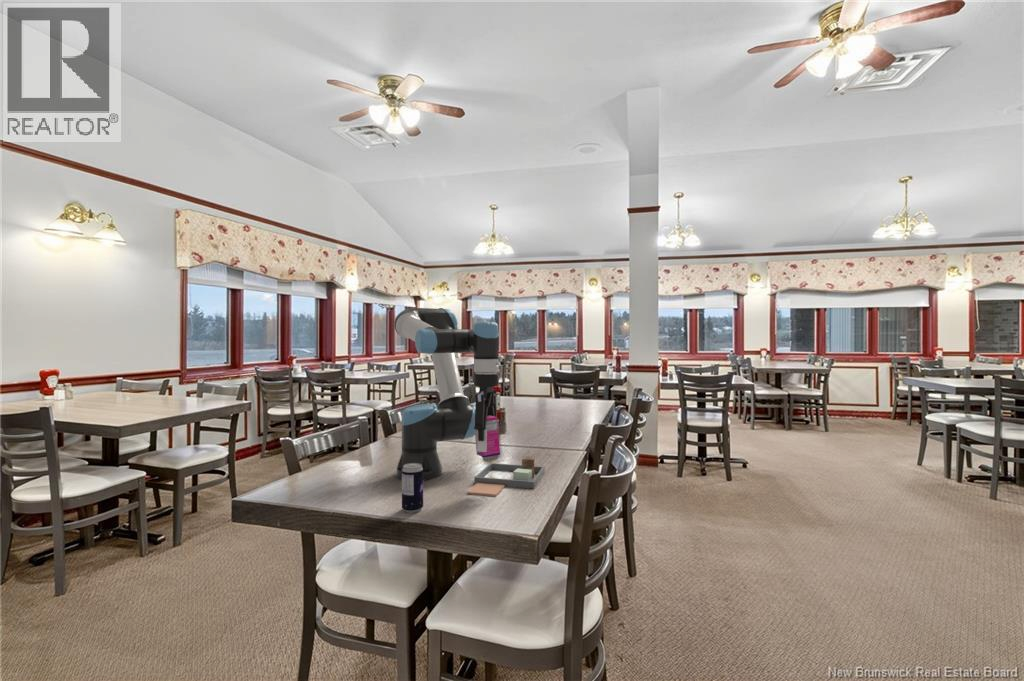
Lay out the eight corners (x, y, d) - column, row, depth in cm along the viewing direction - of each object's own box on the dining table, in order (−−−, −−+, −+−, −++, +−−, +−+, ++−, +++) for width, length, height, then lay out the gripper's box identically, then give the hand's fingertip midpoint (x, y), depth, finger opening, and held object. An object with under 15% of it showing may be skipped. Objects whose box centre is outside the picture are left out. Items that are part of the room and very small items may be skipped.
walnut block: (521, 477, 155) (521, 459, 155) (522, 473, 159) (522, 456, 159) (534, 477, 155) (534, 459, 155) (534, 474, 159) (534, 456, 159)
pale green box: (513, 484, 148) (513, 471, 148) (517, 480, 152) (517, 468, 152) (528, 485, 147) (528, 473, 147) (532, 482, 150) (532, 469, 150)
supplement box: (475, 454, 143) (473, 417, 143) (493, 452, 145) (491, 415, 146) (482, 458, 138) (479, 419, 138) (500, 455, 140) (498, 416, 140)
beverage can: (423, 512, 124) (423, 467, 124) (401, 514, 123) (401, 468, 123) (423, 505, 129) (423, 462, 129) (402, 506, 128) (402, 463, 128)
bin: (474, 483, 148) (474, 477, 148) (490, 468, 165) (490, 463, 165) (534, 488, 144) (534, 482, 144) (544, 472, 160) (544, 466, 160)
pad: (467, 493, 139) (467, 491, 139) (477, 484, 147) (477, 482, 147) (496, 496, 136) (496, 494, 136) (504, 486, 145) (504, 485, 145)
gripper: (487, 375, 131) (488, 457, 131) (507, 370, 151) (507, 441, 151) (462, 375, 133) (462, 455, 133) (484, 370, 153) (485, 440, 153)
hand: (486, 448), depth 142 cm, fingers closed on supplement box, 8 cm apart
